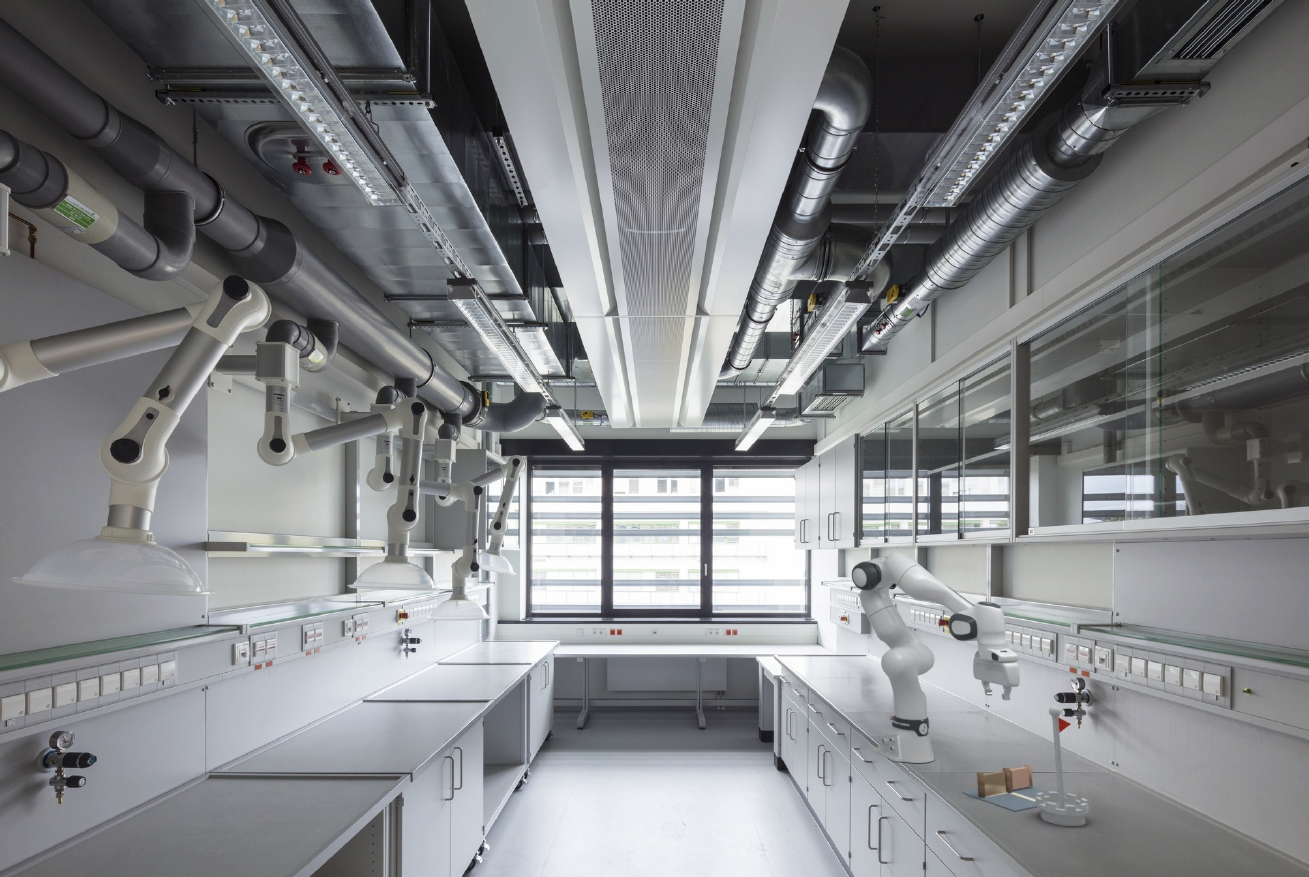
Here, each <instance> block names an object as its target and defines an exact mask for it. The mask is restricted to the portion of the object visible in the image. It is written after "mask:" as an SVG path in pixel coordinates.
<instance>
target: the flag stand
mask: <svg viewBox="0 0 1309 877" xmlns="http://www.w3.org/2000/svg"><path fill="white" fill-rule="evenodd" d="M1048 713H1049V715H1050V716H1051V720H1052V731H1053V732H1052V733H1053V744H1054V745H1053V746H1054V757H1055V758H1054V760H1055V761H1054V762H1055V774H1056V786H1057V791H1048V796H1044V793H1041V792H1040V793H1037V794H1036V797H1035V798H1036V806H1037V807H1036V808H1038V809H1039V811H1040V818H1041V819H1042V820H1044V821H1045V822H1048V823H1049V824H1054V825H1057V826H1063V827H1079V826H1084V825H1085V824H1086V815H1088V813H1089V812H1090V809H1089V808H1090V807H1089V802H1088V799H1086V798H1084V797H1080V799H1078V796H1077V795H1076V794H1072V793H1068V792H1067V793H1066V796H1065V792H1064V777H1063V775H1064V774H1063V763H1062V761H1063V760H1062V750H1061V749H1062V748H1061V738H1060V733H1061V732H1063V730H1065V729H1067V728H1068V727H1069V726H1071V725H1072V724H1071V723H1070V722H1068V721H1067V720H1064V719H1062V718H1061V717H1060V716H1061V709H1060V708H1059V707H1058V706H1055V705H1054V706H1053V705H1052V706H1050V707H1049V709H1048Z"/></svg>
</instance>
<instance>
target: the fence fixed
mask: <svg viewBox="0 0 1309 877" xmlns="http://www.w3.org/2000/svg"><path fill="white" fill-rule="evenodd" d="M1010 769H1011V768H1009V767H1002V770H1001V771H1000V770H999V771H994V772H989V773H984V772H976V780H977V789H978V797H981V798H985V797H987V796H992V795H997V794H1002V793H1006V792H1008V793H1011V792H1012V786H1011V771H1010Z"/></svg>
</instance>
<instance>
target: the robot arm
mask: <svg viewBox="0 0 1309 877" xmlns="http://www.w3.org/2000/svg"><path fill="white" fill-rule="evenodd" d="M851 580H852V583H853V584H854V587H856V588H857V589H859V590H861V591H860V592H859V600H860V603H861V606H862V608H863V612H864V613H865V616H866V617H867V620H868V621H869V623H870V625H871V626H872V629H873V631H874V633H875V634H876V636H877V638H878V639H879V640H880V641H881V642H883V643H884V644H885V645H887V646H888V647H889V648H890V649H889V650H887V651H886V652H885V653H884V654H883V655H882V657H881V661H880V664H881V665H880V666H881V669H882V671H883V672H884V673H885V675H886V676H887V677H888V679H889V682H890V686H891V689H892V692H893V693H892V694H893V702H894V703H893V705H894V716H889V721H891V725H890V726H889V727H888V728H887V729H886V730H884V731H882V733H880V735H879V739H878V746H875V747H872V753H875V754H877V755H880V756H881V757H883V758H885V759H887V760H890V761H892V762H897V763H898V762H901V763H903V762H904V763H912V764H913V763H915V764H916V763H917V764H922V763H924V764H926V763H932V762H933V761H934V760H935V753H934V751H933V748H932V741H931V736H930V735H931V734H930V732H929V729H930V721H929V717H928V706H927V705H928V704H927V696H926V695H927V694H926V693H925V692H924V691H923V689H922V687H921V685H920V680H919V676H921V675H924V674H926V673H928V672H929V671H930V670H931V669H932V668H933V667H934V664H935V654H934V653H933V651H932V649H930V648H929V647H928V646H926V645H924V644H923V643H922V641H920V640H919V639H918V638H917V636H916V635H915V634H914V633H913V632H912V631H911V630H910V628H909V627H908V625H907V624H906V622H905V621H904V619H903V617H902V616H901V613H900V612H899V611H898V609H897V607H896V605H895V604H894V602H893V600H892V598H891V596H890V590H895V589H896V588H897V587H898V588H899V589H900V590H901V591H902V592H903V593H905V594H906V595H907V596H909V597H911V598H912V599H914V600H917V601H924V602H931V603H936V604H939V605H941V606H943V607H946V608H947V609H949V611H951V612H952V613H953V614H952V615H951V616H950V617H949V620H948V631H949V633H950V635H951V636H952V637H953V638H954V639H955V640H957V641H961V642H973V641H976V642H977V649H978V650H977V651H976V652H975V653H974V657H973V663H972V665H973V666H972V668H973V669H972V672H973V673H972V674H973V677H974V679H975V680H979V681H981V685H982V687H983V689H984V695H985V696H989V697H992V696H993V689H991V687H990V684H995V685H1000V686H1002V689H1003V693H1002V694H1001V698H1002V700H1003V701H1010V700H1011V692H1012V689H1013V688H1015V687H1019V686H1020V683H1021V678H1020V669H1019V664H1018V663H1017V662H1018V661H1019V656H1018V654H1017V653H1016V652H1014V651H1013V650H1012V649H1011V648H1009V647H1008V641H1007V638H1006V632H1007V628H1006V619H1005V615H1004V610H1003V609H1002V607H1001V605H999V604H997V603H995V602H990V601H979V602H976V603H974V604H973V603H972V602H970V601H969V600H967V599H966V598H965V597H963V596H962V595H961V594H960V593H958V592H957V591H956V590H954V589H953V588H951V587H949V586H948V585H946V584H945V583H944V582H943V581H941V580H940V579H938V578H936V576H934V574H932V573H931V572H929V571H928V570H927V569H926V568H924V566H922V564H921V565H920V563H918V562H917V561H916V560H914V559H913V558H912V557H910V556H908V555H907V554H904V553H903V552H900V551H895V552H892V553H890V554H889V555H887V556H883V557H882V556H881V557H876V558H875V557H874V558H872V559H869V560H866V561H861V562H859V563H857V564H855V565H854V566H853V568H852V569H851Z"/></svg>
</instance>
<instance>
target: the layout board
mask: <svg viewBox="0 0 1309 877" xmlns="http://www.w3.org/2000/svg"><path fill="white" fill-rule="evenodd" d="M1040 792H1041V793H1044V796H1048V792H1049V791H1047V790H1044V789H1040V788H1038V787H1034V786H1029V787H1024V788H1019V789H1014V790H1012V792H1011V793H1008V792H1006V793H1002V794H997V795H992V796H987V797H985V798H981V797H978V788H977V789H973V790H967V791H962V794H964V795H967V796H969V797H972V798H975V799H977V800H981V801H983V802H985V803H986V802H987V803H989V804H992V805H995V806H998V807H1001V808H1003V809H1005V810H1009V811H1011V812H1014V813H1016V812H1020V811H1025V810H1030V809H1033V808H1034V809H1035V808H1038V807H1037V806H1036V798H1035V797H1036V794H1037V793H1040Z"/></svg>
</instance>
